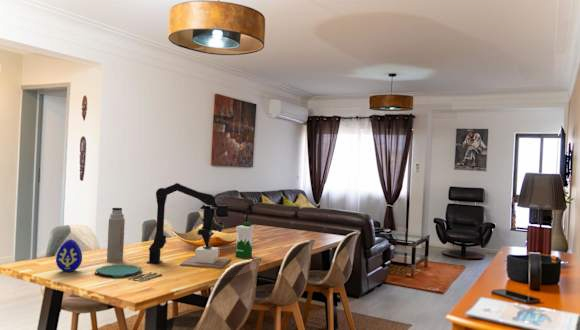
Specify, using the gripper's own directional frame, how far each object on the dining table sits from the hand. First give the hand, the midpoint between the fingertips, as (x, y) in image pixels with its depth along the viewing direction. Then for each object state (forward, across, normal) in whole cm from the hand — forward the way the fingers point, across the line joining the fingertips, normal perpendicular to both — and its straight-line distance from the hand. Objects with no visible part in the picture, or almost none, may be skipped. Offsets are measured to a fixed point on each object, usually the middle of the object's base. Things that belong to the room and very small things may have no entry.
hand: (207, 246), depth 253 cm
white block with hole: (+9, 0, 0) cm, 9 cm away
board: (+9, 0, 0) cm, 9 cm away
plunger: (+7, 0, 0) cm, 7 cm away
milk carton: (+9, +22, -16) cm, 29 cm away
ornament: (+9, -38, +56) cm, 68 cm away
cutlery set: (+10, -36, +28) cm, 47 cm away
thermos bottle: (+9, -10, +47) cm, 49 cm away
